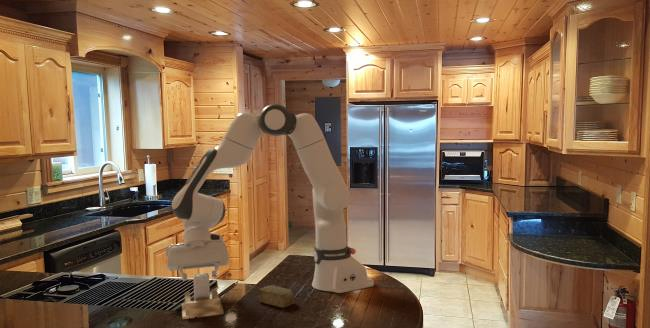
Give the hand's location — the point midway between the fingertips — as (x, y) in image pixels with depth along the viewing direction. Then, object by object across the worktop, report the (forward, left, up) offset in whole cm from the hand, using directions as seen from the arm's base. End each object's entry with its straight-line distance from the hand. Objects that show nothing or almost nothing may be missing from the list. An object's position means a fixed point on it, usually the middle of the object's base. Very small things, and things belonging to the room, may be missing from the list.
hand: (199, 278), depth 148 cm
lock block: (0, +8, -7) cm, 10 cm away
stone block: (-23, +10, -8) cm, 27 cm away
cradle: (0, +8, -8) cm, 11 cm away
